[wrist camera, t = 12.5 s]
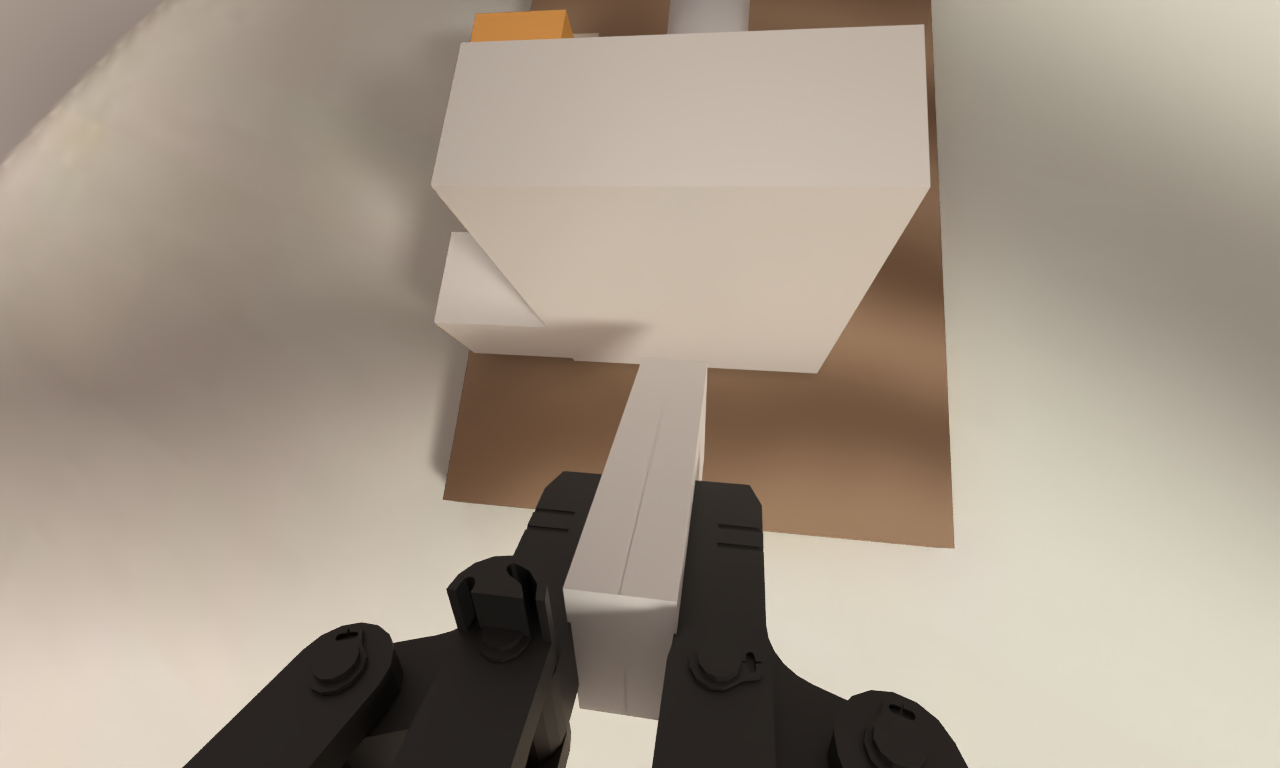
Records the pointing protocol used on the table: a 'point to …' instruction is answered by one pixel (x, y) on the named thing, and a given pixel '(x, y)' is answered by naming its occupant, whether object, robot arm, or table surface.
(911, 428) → the bench
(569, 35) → the orange flat block
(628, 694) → the robot arm
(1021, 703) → the table surface
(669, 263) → the white stepped block
